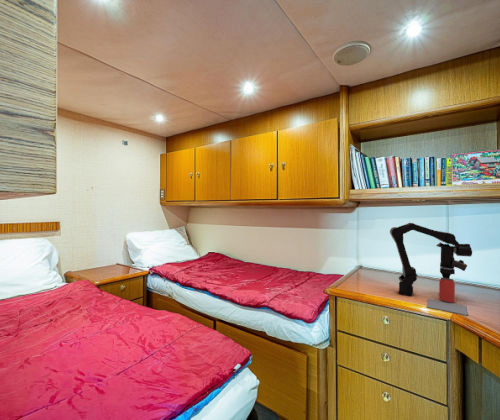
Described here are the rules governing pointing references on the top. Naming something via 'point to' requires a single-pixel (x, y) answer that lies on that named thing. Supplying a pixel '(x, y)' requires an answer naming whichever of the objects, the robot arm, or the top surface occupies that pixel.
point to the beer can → (447, 290)
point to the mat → (447, 307)
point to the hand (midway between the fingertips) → (446, 283)
